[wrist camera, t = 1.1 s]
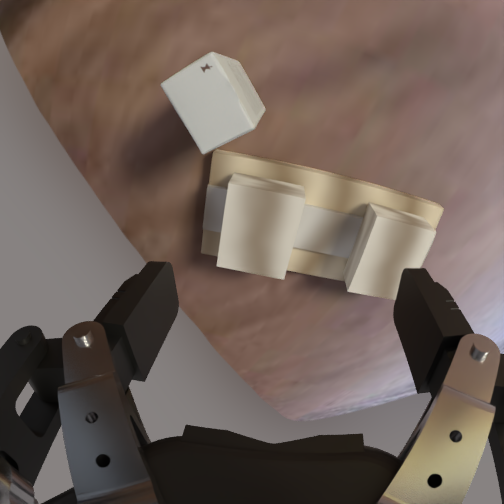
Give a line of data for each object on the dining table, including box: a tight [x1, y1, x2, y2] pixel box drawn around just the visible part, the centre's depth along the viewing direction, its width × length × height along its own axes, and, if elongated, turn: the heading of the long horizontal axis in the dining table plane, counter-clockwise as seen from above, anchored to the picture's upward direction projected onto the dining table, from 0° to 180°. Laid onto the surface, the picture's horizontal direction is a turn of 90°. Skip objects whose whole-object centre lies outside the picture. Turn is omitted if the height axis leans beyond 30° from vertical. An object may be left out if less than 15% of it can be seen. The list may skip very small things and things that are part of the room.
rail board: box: [201, 149, 444, 300], centre depth 32 cm, size 26×12×6 cm, turn 80°
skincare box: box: [161, 52, 266, 154], centre depth 23 cm, size 6×4×12 cm
